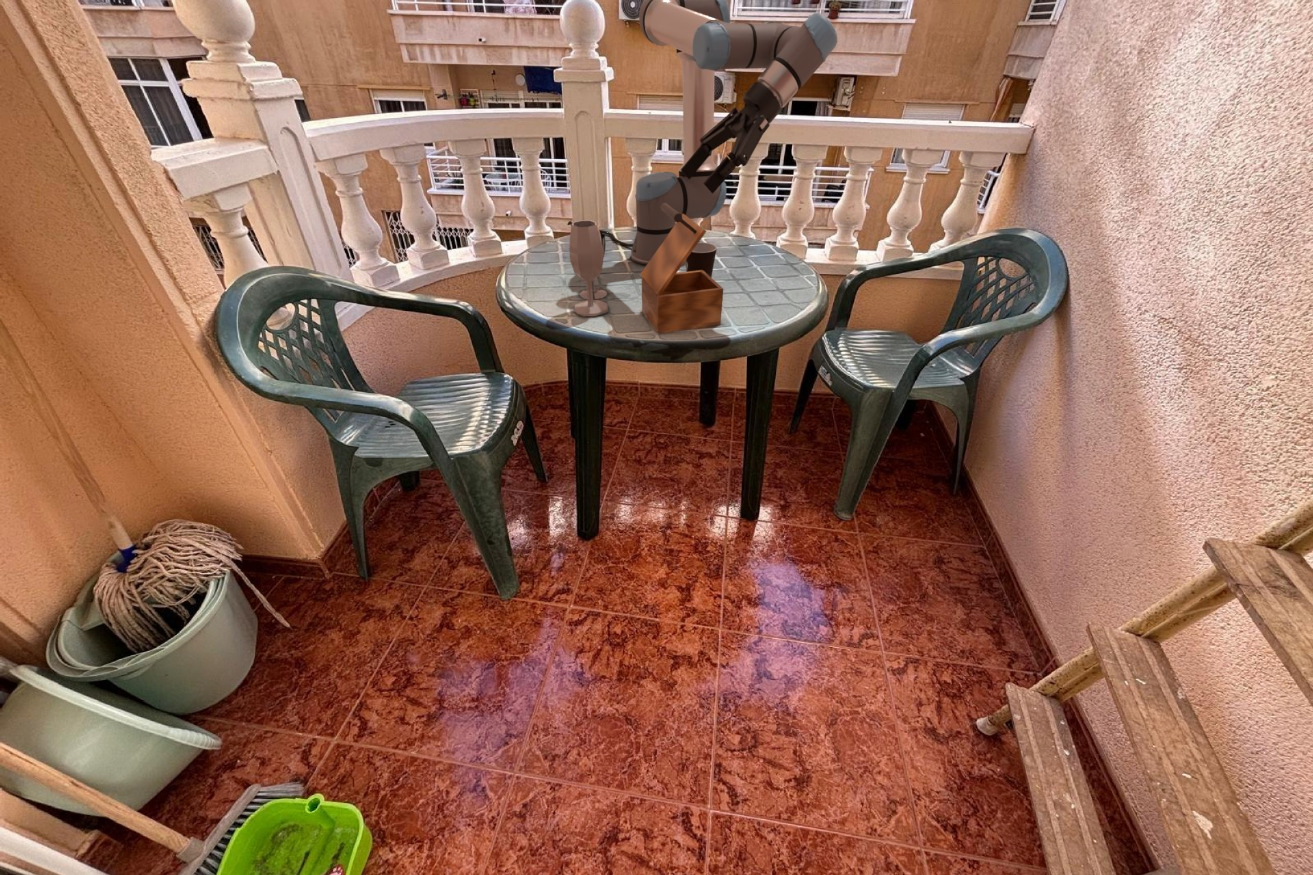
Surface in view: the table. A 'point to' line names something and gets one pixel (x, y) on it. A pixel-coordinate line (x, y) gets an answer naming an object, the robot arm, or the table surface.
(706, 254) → the coffee mug
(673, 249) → the lid
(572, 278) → the table surface
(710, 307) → the chest
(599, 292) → the wine glass
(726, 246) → the table surface
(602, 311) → the wineglass
